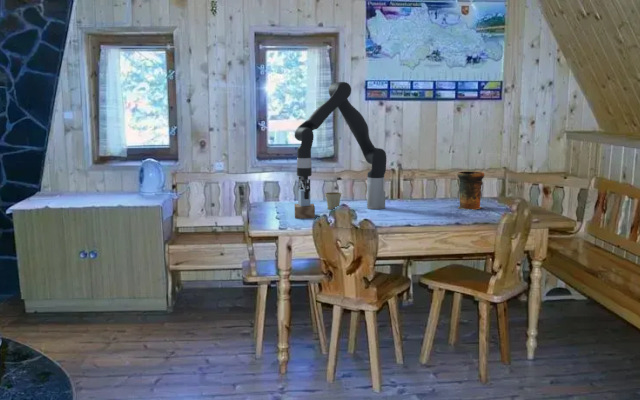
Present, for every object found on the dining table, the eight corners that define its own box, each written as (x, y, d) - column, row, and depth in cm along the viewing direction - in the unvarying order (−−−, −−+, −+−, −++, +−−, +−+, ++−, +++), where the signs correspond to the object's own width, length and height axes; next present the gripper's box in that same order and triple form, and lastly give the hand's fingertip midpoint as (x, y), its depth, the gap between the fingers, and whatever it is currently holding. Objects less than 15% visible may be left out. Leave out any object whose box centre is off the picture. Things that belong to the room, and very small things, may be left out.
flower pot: (321, 209, 351) (321, 193, 349) (329, 206, 359) (329, 191, 358) (337, 210, 347) (337, 195, 345) (344, 208, 355) (344, 192, 353)
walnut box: (313, 214, 336) (313, 203, 335) (314, 218, 326) (314, 206, 325) (294, 215, 335) (294, 203, 335) (295, 218, 326) (295, 207, 325)
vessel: (477, 211, 344) (477, 174, 341) (452, 208, 353) (453, 172, 350) (487, 207, 355) (488, 171, 353) (463, 205, 364) (464, 170, 361)
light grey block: (307, 204, 333) (307, 189, 332) (310, 205, 328) (310, 190, 327) (298, 204, 332) (298, 189, 330) (301, 206, 327) (300, 190, 326)
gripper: (315, 167, 321) (315, 199, 324) (307, 165, 335) (307, 195, 337) (300, 168, 319) (300, 200, 322) (293, 165, 332) (294, 196, 335)
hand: (304, 197), depth 329 cm, fingers open, 8 cm apart
